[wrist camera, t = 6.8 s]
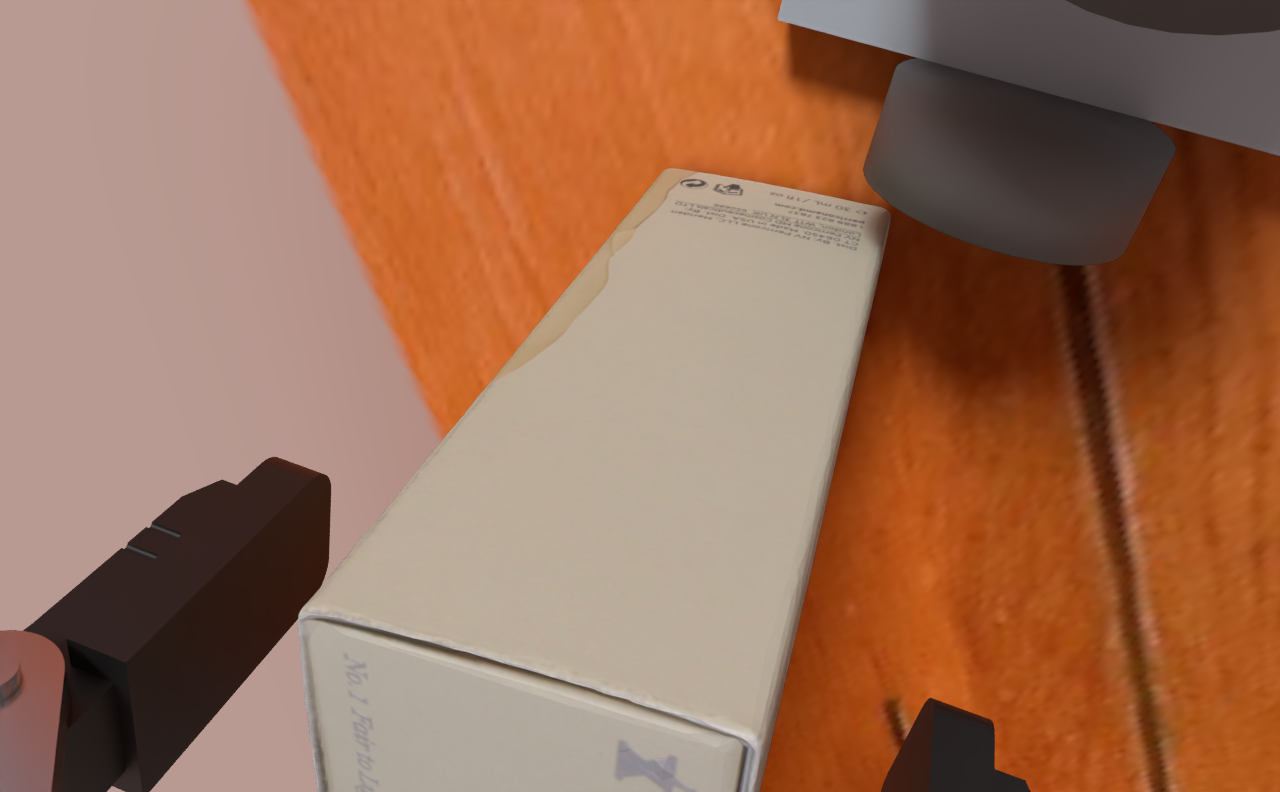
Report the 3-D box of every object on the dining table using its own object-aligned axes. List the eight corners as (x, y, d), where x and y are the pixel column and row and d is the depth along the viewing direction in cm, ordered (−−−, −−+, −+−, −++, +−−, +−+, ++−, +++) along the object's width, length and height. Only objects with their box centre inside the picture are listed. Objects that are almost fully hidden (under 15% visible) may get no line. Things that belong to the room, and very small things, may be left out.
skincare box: (664, 158, 19) (270, 574, 9) (907, 206, 18) (776, 732, 8) (634, 439, 22) (323, 971, 12) (836, 491, 21) (681, 1114, 11)
